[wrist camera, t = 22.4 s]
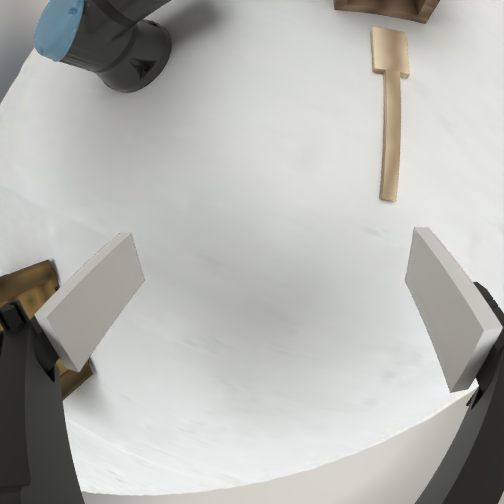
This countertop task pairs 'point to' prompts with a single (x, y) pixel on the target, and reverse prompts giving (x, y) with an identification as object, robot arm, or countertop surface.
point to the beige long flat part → (390, 100)
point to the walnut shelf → (391, 8)
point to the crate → (32, 299)
